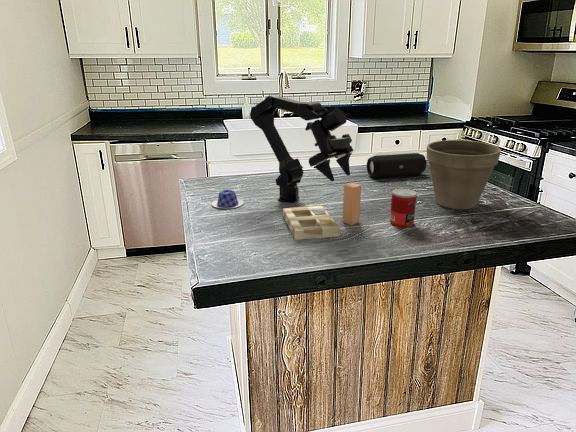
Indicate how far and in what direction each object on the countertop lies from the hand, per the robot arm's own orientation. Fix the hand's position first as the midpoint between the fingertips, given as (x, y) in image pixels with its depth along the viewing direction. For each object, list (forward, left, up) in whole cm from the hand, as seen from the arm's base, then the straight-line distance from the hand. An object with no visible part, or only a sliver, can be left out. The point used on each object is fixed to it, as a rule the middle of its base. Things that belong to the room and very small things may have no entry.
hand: (341, 178), depth 153 cm
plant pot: (+37, +28, -13) cm, 48 cm away
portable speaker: (+8, +57, -14) cm, 60 cm away
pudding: (-42, -6, -14) cm, 45 cm away
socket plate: (-6, -15, -13) cm, 21 cm away
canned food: (+22, 0, -13) cm, 26 cm away
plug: (+6, -6, -13) cm, 16 cm away
